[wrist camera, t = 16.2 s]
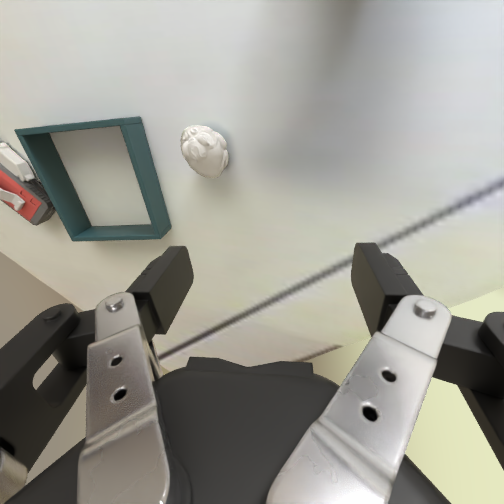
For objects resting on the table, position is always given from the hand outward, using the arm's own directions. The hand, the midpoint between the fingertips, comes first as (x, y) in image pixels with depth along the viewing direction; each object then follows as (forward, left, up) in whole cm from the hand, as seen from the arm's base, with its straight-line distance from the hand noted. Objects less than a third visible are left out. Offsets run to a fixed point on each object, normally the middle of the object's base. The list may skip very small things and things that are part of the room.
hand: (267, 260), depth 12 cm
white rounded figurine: (-2, -10, -28) cm, 30 cm away
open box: (+2, -28, -28) cm, 40 cm away
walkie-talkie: (-1, -46, -28) cm, 54 cm away
